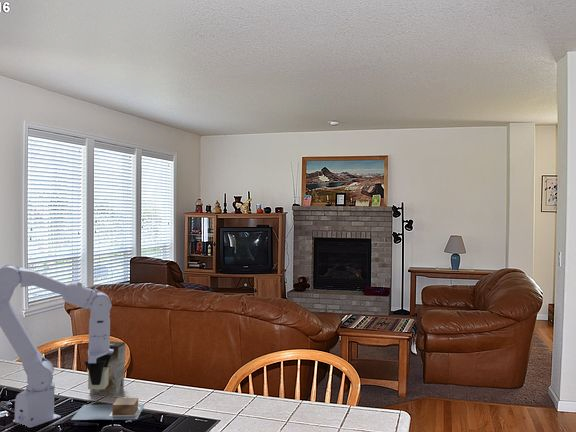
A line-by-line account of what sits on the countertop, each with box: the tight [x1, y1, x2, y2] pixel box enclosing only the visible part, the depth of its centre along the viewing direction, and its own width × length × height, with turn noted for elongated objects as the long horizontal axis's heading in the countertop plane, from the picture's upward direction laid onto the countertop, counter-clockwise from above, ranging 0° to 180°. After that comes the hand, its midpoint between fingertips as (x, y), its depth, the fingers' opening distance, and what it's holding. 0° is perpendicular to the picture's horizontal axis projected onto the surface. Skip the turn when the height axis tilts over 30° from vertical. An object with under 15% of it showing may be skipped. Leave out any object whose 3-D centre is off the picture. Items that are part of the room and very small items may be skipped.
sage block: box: [87, 367, 109, 390], centre depth 151 cm, size 4×4×5 cm
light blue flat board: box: [70, 403, 146, 421], centre depth 151 cm, size 18×12×1 cm, turn 95°
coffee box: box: [89, 340, 126, 396], centre depth 169 cm, size 9×6×16 cm
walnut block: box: [112, 397, 139, 415], centre depth 151 cm, size 6×6×3 cm
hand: (98, 381), depth 151 cm, fingers closed on sage block, 4 cm apart
